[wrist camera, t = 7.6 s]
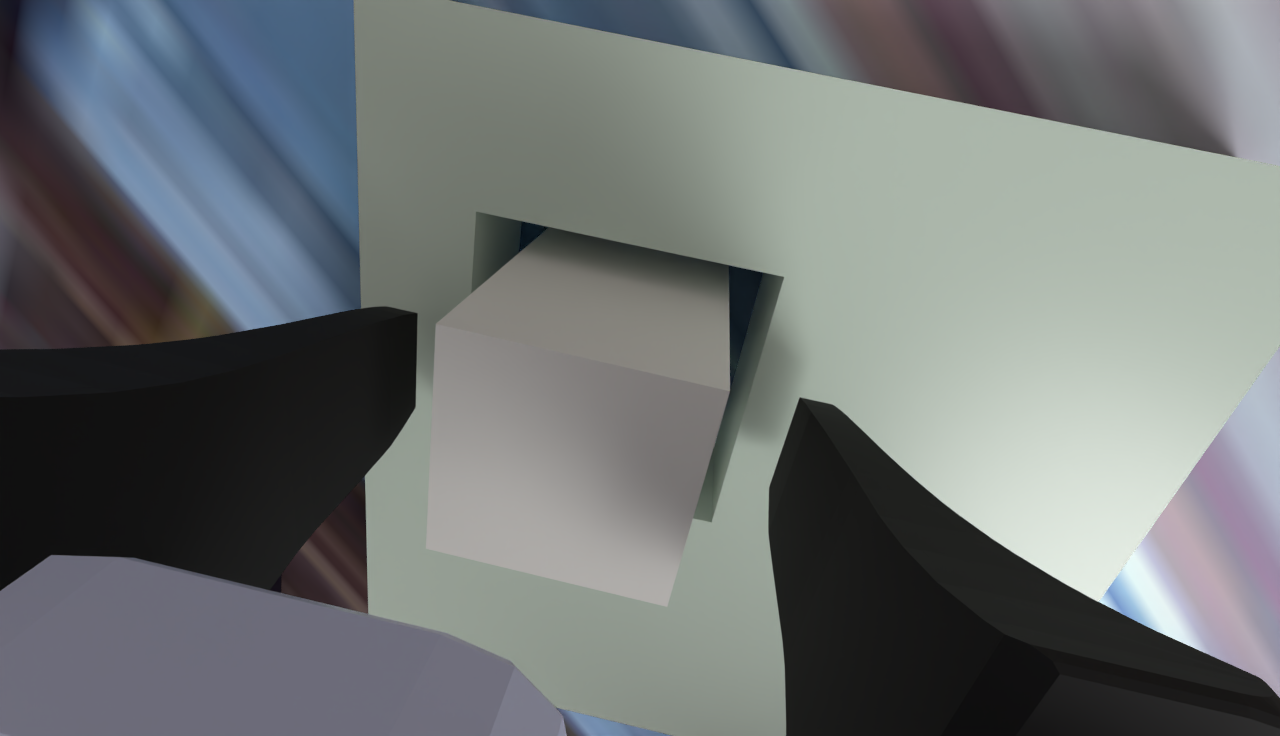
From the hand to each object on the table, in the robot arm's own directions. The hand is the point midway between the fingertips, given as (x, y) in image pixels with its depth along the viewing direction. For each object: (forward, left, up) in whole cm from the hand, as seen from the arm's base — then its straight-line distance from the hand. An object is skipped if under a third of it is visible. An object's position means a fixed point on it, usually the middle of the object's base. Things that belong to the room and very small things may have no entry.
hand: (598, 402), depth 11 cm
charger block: (0, 0, -4) cm, 4 cm away
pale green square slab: (-2, -3, -4) cm, 5 cm away
